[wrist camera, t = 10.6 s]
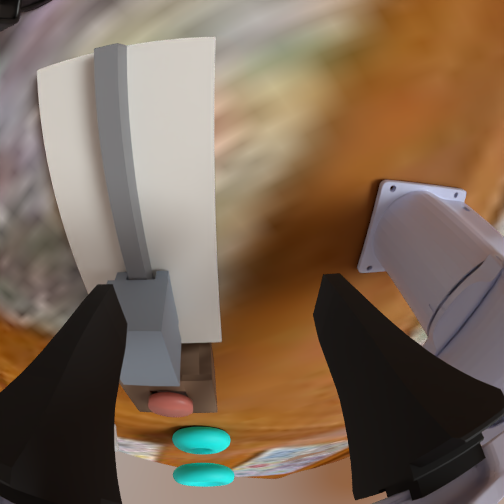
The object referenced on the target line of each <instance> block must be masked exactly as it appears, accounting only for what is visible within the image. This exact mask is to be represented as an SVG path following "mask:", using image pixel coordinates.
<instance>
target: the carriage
mask: <svg viewBox="0 0 504 504" xmlns="http://www.w3.org/2000/svg"><path fill="white" fill-rule="evenodd" d="M107 284H113V286H114V289H115V292H116V295H117V298H118V300H119V303H120V306H121V308H122V311H123V313H124V316H125V318H126V321H127V323H128V326H127V338H126V348H125V354H124V359H123V364H122V370H121V375H120V380H121V382H122V383H123V385H141V386H180V361H181V336H180V332H179V327H178V324H179V320H178V316H177V311H176V306H175V302H174V297H173V292H172V286H171V281H170V276H169V271H157V272H156V277H155V279H150V280H129V278H128V275H127V272H117V275H116V278H115V280H108V281H107Z"/></svg>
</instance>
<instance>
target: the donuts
mask: <svg viewBox="0 0 504 504" xmlns="http://www.w3.org/2000/svg"><path fill="white" fill-rule="evenodd" d="M172 441H173V443H174V445H175V446H176V447H177V448H178V449H180V450H182V451H184V452H187V453H192V454H213V453H218V452H221V451H223V450H225V449H226V448H227V447H228V446H229V444H230V436H229V435H228V434H227V433H226V432H225V431H223V430H221V429H218V428H213V427H199V426H198V427H187V428H183V429H180V430H178V431H176V432H175V433H174V434H173V437H172ZM173 477H174V479H175V481H176V482H178V483H180V484H183V485H188V486H204V487H205V486H221V485H226V484H229V483H231V482H232V481H233V480H234V477H235V476H234V472H233V471H232V470H231V469H230V468H228V467H226V466H224V465H220V464H214V463H191V464H185V465H182V466H179V467H178V468H176V469H175V470H174V473H173Z"/></svg>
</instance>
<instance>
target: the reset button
mask: <svg viewBox="0 0 504 504" xmlns="http://www.w3.org/2000/svg"><path fill="white" fill-rule="evenodd" d="M157 392H158V393H154V394H152V395H150V396H149V401H148V408H149V409H150V410H151V411H152V412H154V413H156V414H159V415H162V416H167V417H183V416H187V415H190V414H191V413H192V412H193V401H192V400H191V399H190V398H189V397H187V394H186V391H157Z"/></svg>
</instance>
